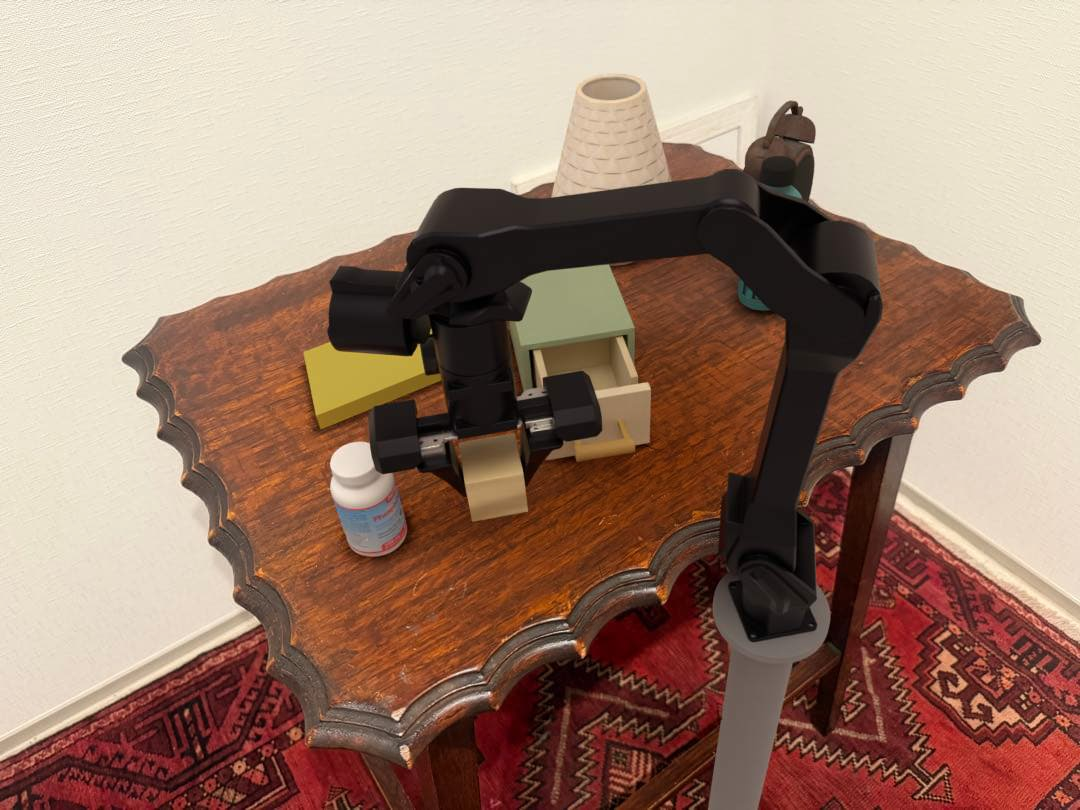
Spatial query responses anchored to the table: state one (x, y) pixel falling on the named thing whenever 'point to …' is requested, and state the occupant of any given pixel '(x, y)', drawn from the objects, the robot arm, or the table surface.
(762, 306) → the beverage bottle
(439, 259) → the robot arm
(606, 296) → the cabinet
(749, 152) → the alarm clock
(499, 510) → the block
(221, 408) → the table surface
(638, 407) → the drawer
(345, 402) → the flat olive board
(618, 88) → the vase
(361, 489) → the pill bottle
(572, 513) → the table surface
